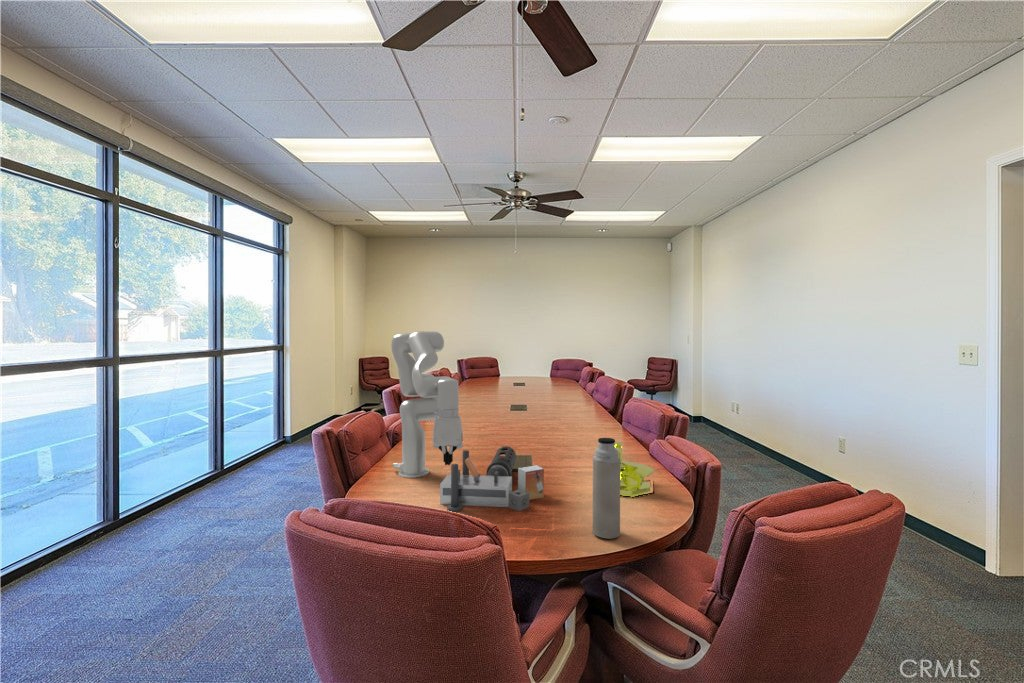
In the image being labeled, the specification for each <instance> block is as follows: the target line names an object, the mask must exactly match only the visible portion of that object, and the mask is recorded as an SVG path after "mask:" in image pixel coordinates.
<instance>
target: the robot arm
mask: <svg viewBox="0 0 1024 683" xmlns="http://www.w3.org/2000/svg"><path fill="white" fill-rule="evenodd" d="M390 346H391V354H392V356H393V359H394V361H395V363H396V366H397V370H398V371H397V372H398V378H399V388H400V392H401V394H402V395H403V396H404V397H411V398H412V397H420V398H412V399H406V400H403V401H402V402H401V404H400V406H399V415H400V420H401V421H400V422H401V441H402V442H401V444H402V445H401V447H402V448H401V451H402V453H401V456H402V457H401V459H402V461H401V462H400V463H399V462H395V463H394V462H393V463H392V464H393V465H392V467H393V469H394V470H398V472H397V473H398V477H401V478H405V479H416V477H417V478H422V477H425V476H427V475H429V472H430V470H429V468H427V467H426V430H425V429H424V427H423V426H422V425H421V423H420V422H424V421H425V422H426V421H434V422H433V428H432V429H433V430H432V444H433V445H432V447H433V448H435V449H439V451H441V453H442V454H443V462H444V466H451V465H452V463H453V459H454V458H453V455H454V454H453V453H454V452H455V451H456V450H460V449H463V447H464V445H463V440H464V439H463V424H462V418H461V416H460V415H459V408H460V407H459V405H460V404H459V402H460V401H459V399H460V398H459V395H460V393H459V392H460V391H459V389H460V387H459V386H460V384H459V380H457V379H456V378H451V377H450V376H445V375H443V376H435V375H434V374H431V373H424V372H426V371H428V370H430V369H431V368H433V367H435V366H436V364H437V363H438V359H439V356H438V354H437V353H438V352H441V351H442V350H443V348H444V347H445V340H444V337H443V335H442V334H441V333H440V332H439V331H424V330H423V331H415V332H413V333H412V332H404V333H402V332H401V333H397V334H395V335H394V336H393V337H392V340H391V345H390ZM410 354H412V355H413V356H412V355H410ZM448 447H449V448H448ZM421 476H422V477H421Z"/></svg>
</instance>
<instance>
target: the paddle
mask: <svg viewBox="0 0 1024 683" xmlns="http://www.w3.org/2000/svg"><path fill="white" fill-rule="evenodd" d="M465 463H466V465H467V467H468V468H469V473H471V474H470V475H472V476H473V477H474V481H475V482H477V481H478V479H479V478H480V475H481V474H479V472H478V471H477V469H476V467H475V464H473V462H472V460H471V459H470V457H469V458H467V459H466V460H465Z"/></svg>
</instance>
